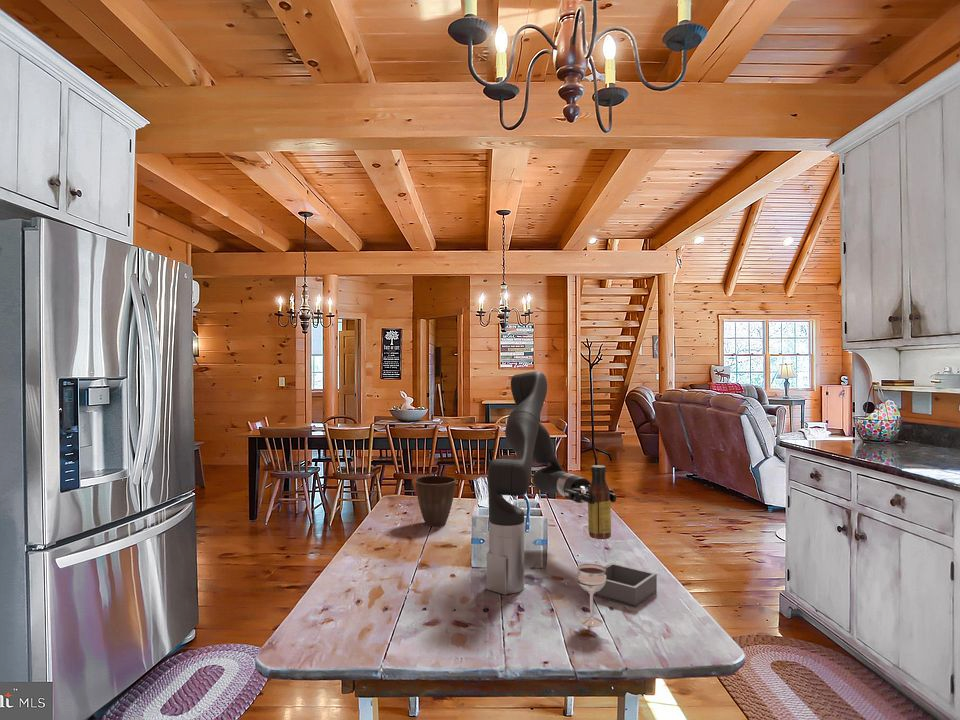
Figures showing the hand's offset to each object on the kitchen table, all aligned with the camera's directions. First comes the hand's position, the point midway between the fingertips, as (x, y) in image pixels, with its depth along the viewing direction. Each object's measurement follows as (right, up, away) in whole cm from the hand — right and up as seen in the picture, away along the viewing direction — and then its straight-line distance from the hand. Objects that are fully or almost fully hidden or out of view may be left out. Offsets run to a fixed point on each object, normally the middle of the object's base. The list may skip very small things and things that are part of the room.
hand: (604, 499), depth 164 cm
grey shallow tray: (+2, -21, -13) cm, 25 cm away
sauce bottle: (-1, -11, +2) cm, 11 cm away
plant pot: (-50, -21, +51) cm, 75 cm away
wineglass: (-9, -21, -30) cm, 37 cm away
